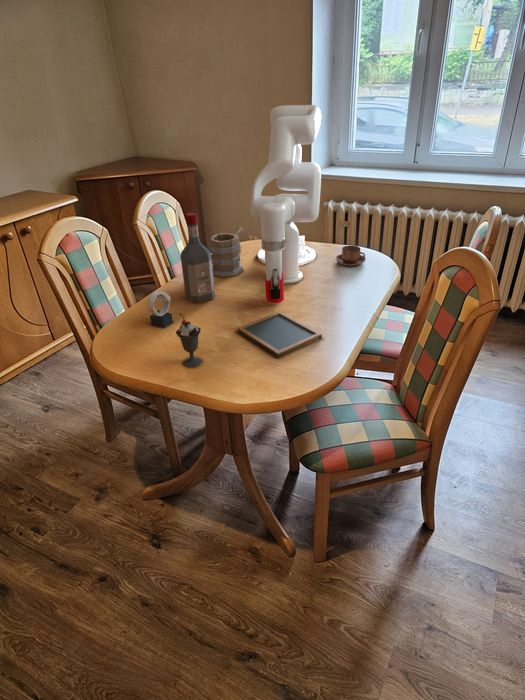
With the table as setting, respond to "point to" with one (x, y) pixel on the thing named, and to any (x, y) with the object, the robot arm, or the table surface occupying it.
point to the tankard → (226, 254)
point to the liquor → (196, 265)
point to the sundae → (189, 341)
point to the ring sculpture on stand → (159, 316)
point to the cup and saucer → (351, 256)
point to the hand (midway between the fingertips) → (274, 293)
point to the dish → (304, 253)
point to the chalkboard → (279, 334)
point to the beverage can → (268, 286)
